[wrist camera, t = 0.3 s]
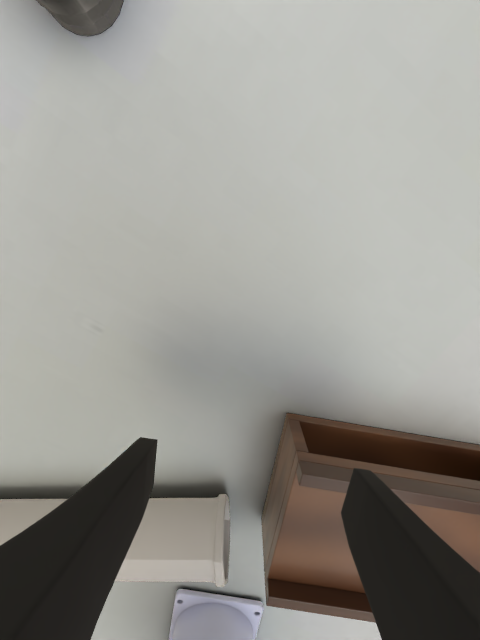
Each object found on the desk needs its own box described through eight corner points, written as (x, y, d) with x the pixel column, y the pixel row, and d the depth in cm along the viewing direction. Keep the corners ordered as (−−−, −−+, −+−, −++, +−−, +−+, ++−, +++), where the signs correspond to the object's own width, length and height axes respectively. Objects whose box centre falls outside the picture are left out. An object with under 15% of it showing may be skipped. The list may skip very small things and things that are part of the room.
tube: (-109, 596, 20) (227, 599, 19) (-171, 570, 17) (221, 572, 16) (-43, 513, 24) (231, 512, 23) (-84, 483, 22) (226, 480, 21)
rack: (448, 547, 23) (514, 644, 17) (261, 517, 22) (266, 606, 17) (494, 447, 20) (590, 521, 15) (286, 412, 20) (302, 474, 14)
